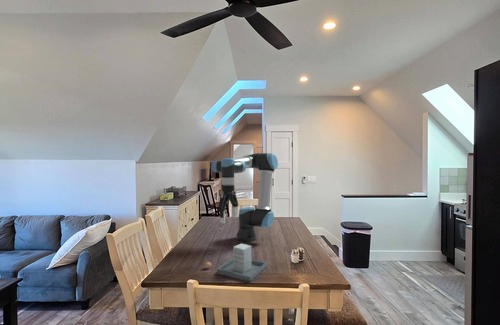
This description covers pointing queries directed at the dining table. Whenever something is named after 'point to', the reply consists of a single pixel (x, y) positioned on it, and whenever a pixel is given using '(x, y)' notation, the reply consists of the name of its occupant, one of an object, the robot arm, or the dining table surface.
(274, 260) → the dining table surface
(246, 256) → the supplement box
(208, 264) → the mixing ball
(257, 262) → the tray
